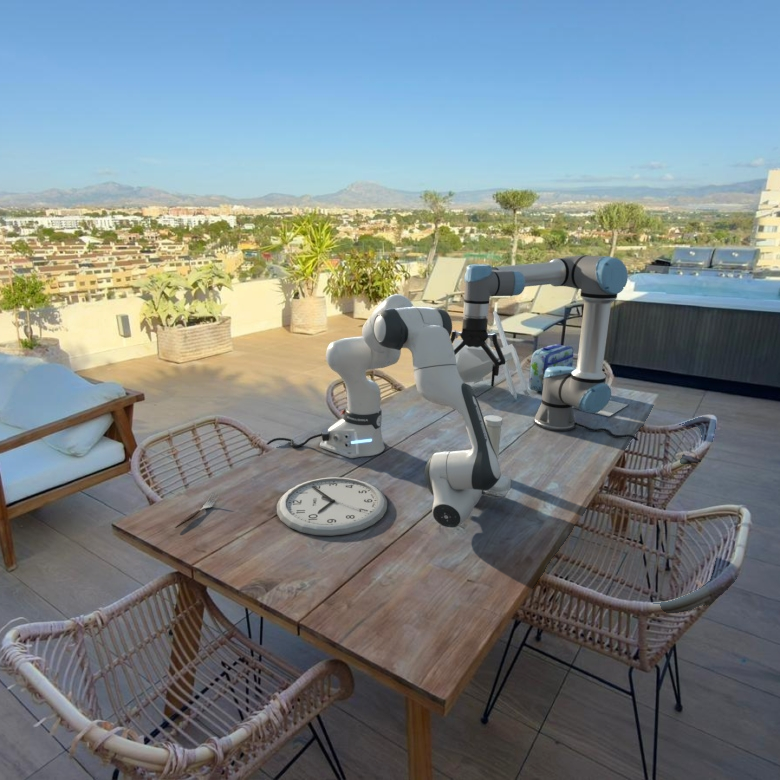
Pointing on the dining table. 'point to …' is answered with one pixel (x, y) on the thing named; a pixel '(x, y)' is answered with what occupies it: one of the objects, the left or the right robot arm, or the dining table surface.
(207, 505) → the fork
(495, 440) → the jar
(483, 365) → the white plastic object
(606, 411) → the invitation card
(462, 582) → the dining table surface
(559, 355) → the lunch box
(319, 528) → the wall clock
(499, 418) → the lid
